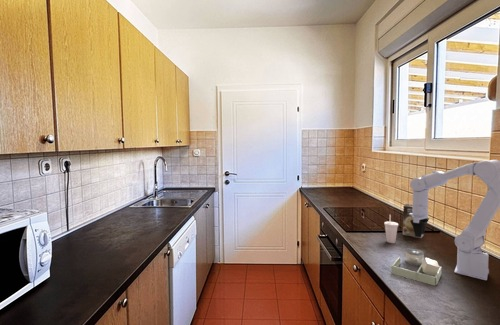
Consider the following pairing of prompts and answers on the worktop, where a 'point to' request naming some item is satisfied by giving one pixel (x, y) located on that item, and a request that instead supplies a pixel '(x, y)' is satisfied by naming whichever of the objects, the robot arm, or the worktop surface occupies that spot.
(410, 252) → the tin
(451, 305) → the worktop surface
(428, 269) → the cube
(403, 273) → the caddy
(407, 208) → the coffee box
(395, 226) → the smoothie
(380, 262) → the worktop surface
